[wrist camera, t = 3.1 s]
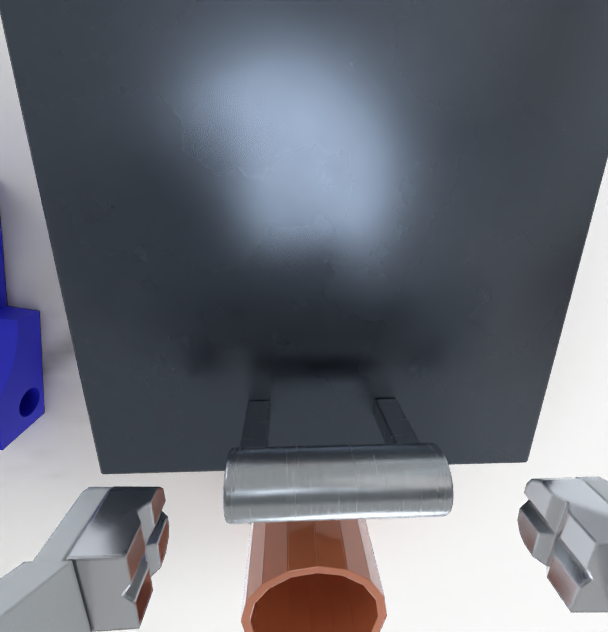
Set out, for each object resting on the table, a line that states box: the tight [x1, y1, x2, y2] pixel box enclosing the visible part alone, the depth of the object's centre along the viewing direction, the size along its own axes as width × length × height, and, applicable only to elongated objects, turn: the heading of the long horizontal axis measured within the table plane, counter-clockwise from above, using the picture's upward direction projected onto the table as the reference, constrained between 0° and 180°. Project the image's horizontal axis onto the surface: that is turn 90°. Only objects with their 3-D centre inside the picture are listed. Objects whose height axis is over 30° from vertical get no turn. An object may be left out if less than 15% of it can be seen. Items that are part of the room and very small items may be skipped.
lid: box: [0, 0, 608, 524], centre depth 8 cm, size 16×15×5 cm
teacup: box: [241, 519, 387, 632], centre depth 18 cm, size 6×6×7 cm
